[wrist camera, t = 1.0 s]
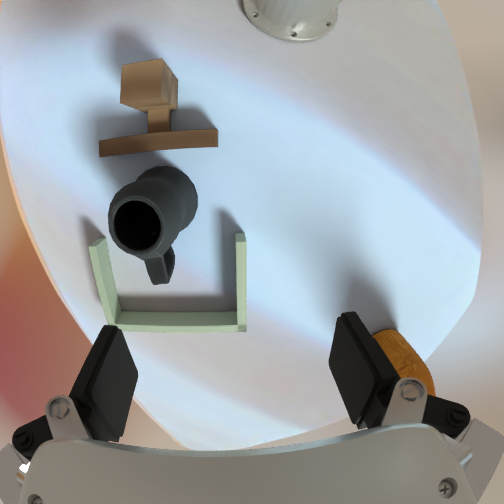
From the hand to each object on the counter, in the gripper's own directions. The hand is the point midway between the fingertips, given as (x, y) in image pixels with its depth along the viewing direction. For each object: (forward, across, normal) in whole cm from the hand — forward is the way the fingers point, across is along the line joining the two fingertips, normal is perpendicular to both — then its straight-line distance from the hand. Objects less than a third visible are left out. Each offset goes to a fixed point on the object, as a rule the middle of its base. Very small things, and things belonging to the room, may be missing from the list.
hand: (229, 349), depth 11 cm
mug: (+25, +8, 0) cm, 26 cm away
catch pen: (+25, +8, +9) cm, 28 cm away
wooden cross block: (+25, +8, -12) cm, 29 cm away
